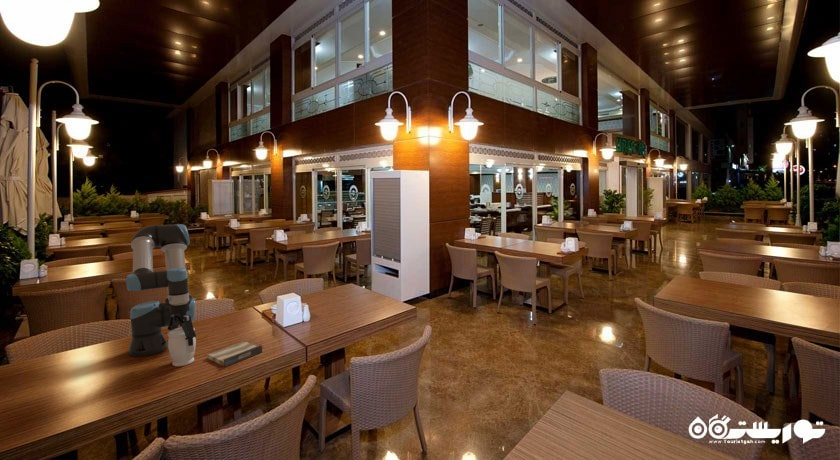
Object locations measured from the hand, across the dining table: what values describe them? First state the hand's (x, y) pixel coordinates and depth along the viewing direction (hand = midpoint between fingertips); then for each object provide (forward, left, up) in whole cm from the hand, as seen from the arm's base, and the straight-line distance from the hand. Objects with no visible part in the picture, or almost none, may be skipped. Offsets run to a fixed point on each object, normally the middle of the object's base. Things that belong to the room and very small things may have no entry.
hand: (182, 349), depth 167 cm
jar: (0, 0, -7) cm, 7 cm away
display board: (+12, +17, -6) cm, 22 cm away
